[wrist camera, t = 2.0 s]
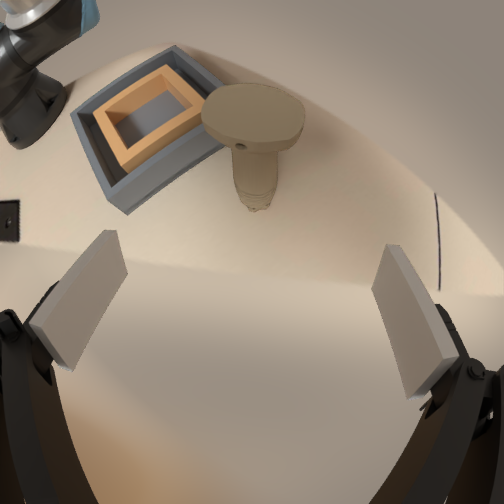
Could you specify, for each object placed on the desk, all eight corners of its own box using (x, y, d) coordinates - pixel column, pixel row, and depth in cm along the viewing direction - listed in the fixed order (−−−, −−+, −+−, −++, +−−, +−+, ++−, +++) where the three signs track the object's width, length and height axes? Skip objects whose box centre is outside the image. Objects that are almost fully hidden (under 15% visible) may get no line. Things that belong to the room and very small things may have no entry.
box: (85, 131, 33) (69, 113, 28) (182, 67, 35) (175, 45, 30) (127, 215, 30) (107, 200, 25) (249, 130, 32) (248, 105, 27)
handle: (235, 173, 31) (217, 78, 16) (290, 188, 30) (311, 96, 15) (221, 211, 30) (189, 130, 15) (279, 227, 29) (295, 152, 14)
